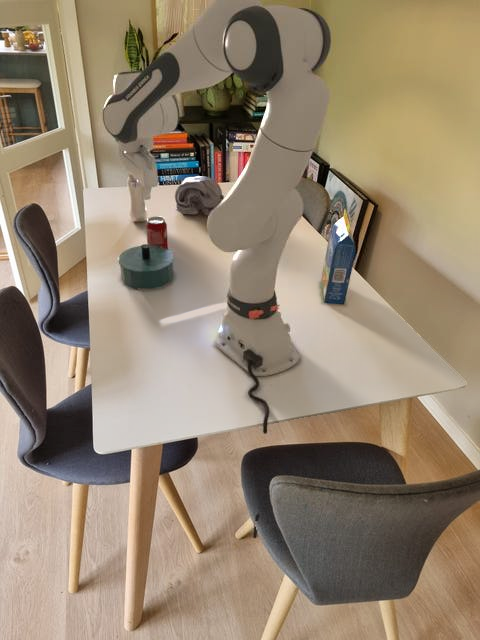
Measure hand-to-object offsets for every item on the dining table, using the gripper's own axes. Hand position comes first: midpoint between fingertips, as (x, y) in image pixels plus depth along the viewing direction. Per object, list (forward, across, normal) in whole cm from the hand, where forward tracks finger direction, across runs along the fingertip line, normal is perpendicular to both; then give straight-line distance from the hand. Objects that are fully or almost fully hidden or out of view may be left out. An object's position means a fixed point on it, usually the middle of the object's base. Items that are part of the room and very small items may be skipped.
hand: (140, 192), depth 124 cm
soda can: (+27, +14, -9) cm, 32 cm away
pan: (+27, 0, 0) cm, 27 cm away
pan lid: (+21, 0, 0) cm, 21 cm away
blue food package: (+27, -33, -47) cm, 64 cm away
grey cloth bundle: (+27, +40, -37) cm, 61 cm away
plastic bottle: (+27, +42, -12) cm, 51 cm away
